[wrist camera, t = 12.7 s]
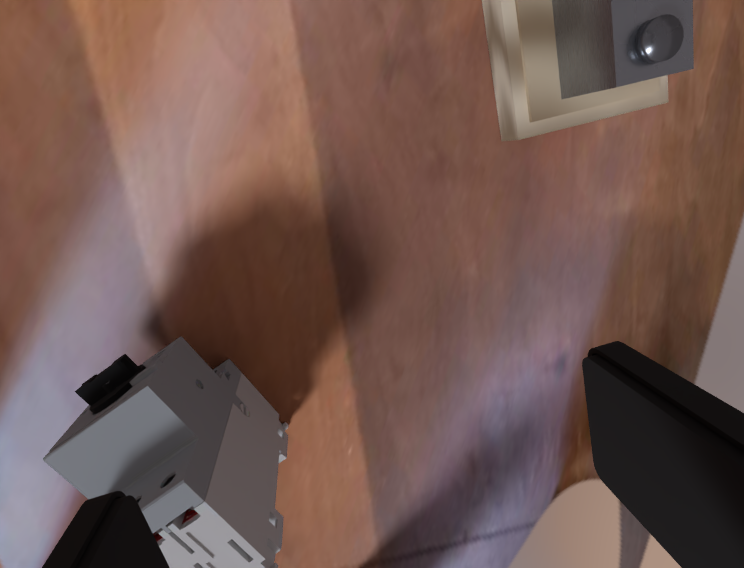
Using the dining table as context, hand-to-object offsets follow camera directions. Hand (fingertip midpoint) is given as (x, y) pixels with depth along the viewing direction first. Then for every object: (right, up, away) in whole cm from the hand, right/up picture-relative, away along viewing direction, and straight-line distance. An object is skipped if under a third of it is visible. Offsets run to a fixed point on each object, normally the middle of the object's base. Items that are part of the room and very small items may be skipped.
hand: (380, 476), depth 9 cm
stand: (+15, +22, +26) cm, 37 cm away
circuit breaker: (-15, -5, +29) cm, 33 cm away
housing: (+15, +21, +22) cm, 34 cm away
